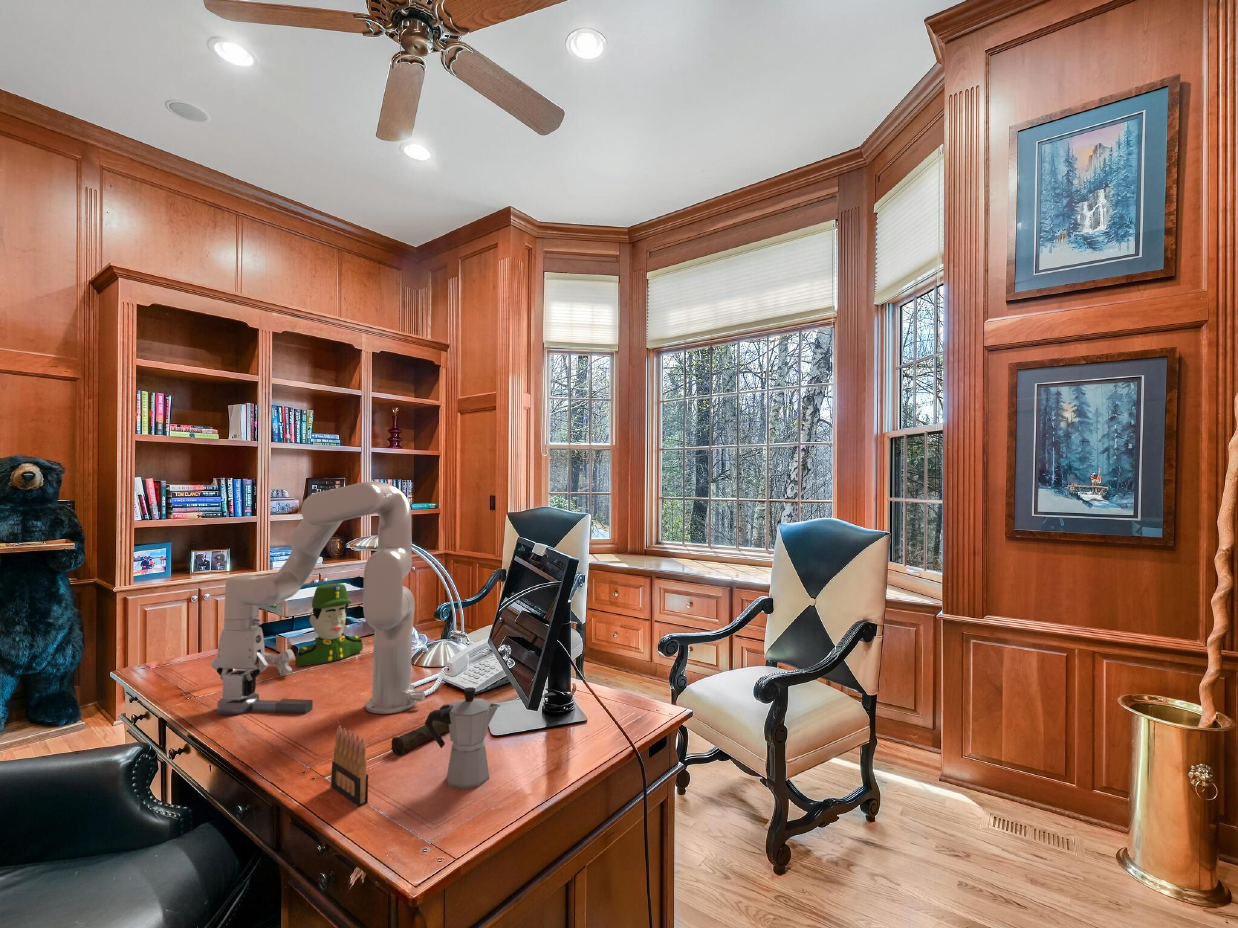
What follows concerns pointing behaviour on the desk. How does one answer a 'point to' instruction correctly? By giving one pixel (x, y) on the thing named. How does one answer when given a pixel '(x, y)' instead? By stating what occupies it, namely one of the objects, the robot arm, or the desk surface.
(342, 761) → the ammunition clip
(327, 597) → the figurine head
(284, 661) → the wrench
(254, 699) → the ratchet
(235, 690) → the socket
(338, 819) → the desk surface
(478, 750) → the coffee maker
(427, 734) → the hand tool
